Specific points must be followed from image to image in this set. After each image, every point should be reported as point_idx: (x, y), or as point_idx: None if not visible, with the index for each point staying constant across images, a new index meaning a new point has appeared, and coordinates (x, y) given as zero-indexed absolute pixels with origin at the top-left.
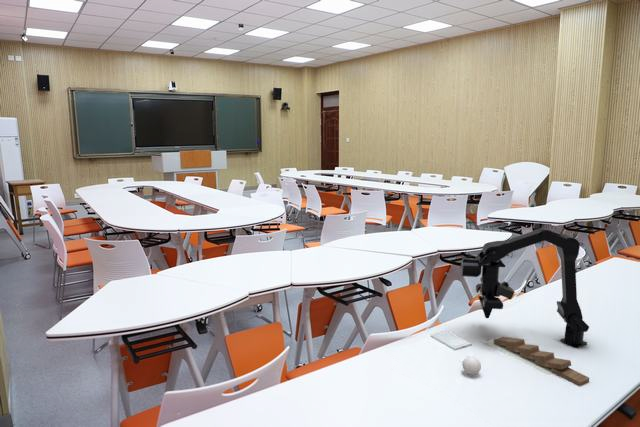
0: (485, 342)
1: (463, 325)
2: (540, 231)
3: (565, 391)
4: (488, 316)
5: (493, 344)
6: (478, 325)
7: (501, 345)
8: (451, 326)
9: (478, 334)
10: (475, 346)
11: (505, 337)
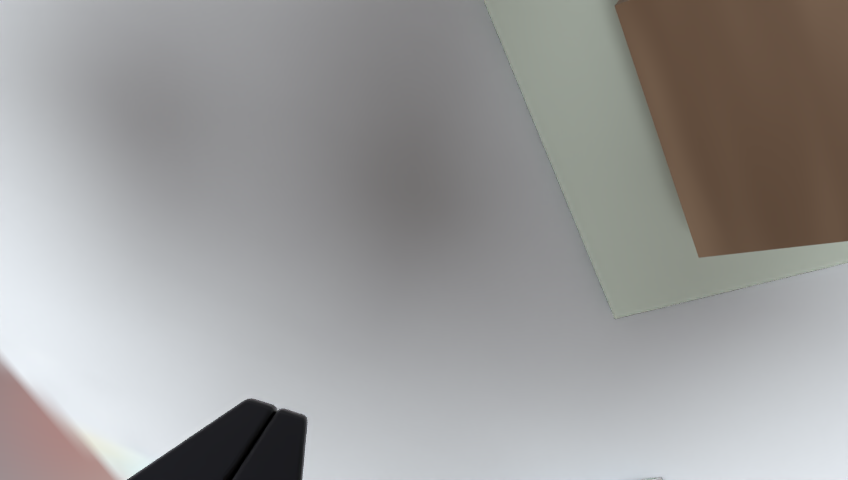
0: (625, 308)
1: (79, 302)
2: None
3: None
4: (301, 476)
5: None
6: (26, 111)
7: None
8: (137, 426)
9: (332, 253)
10: (680, 447)
11: (749, 12)
